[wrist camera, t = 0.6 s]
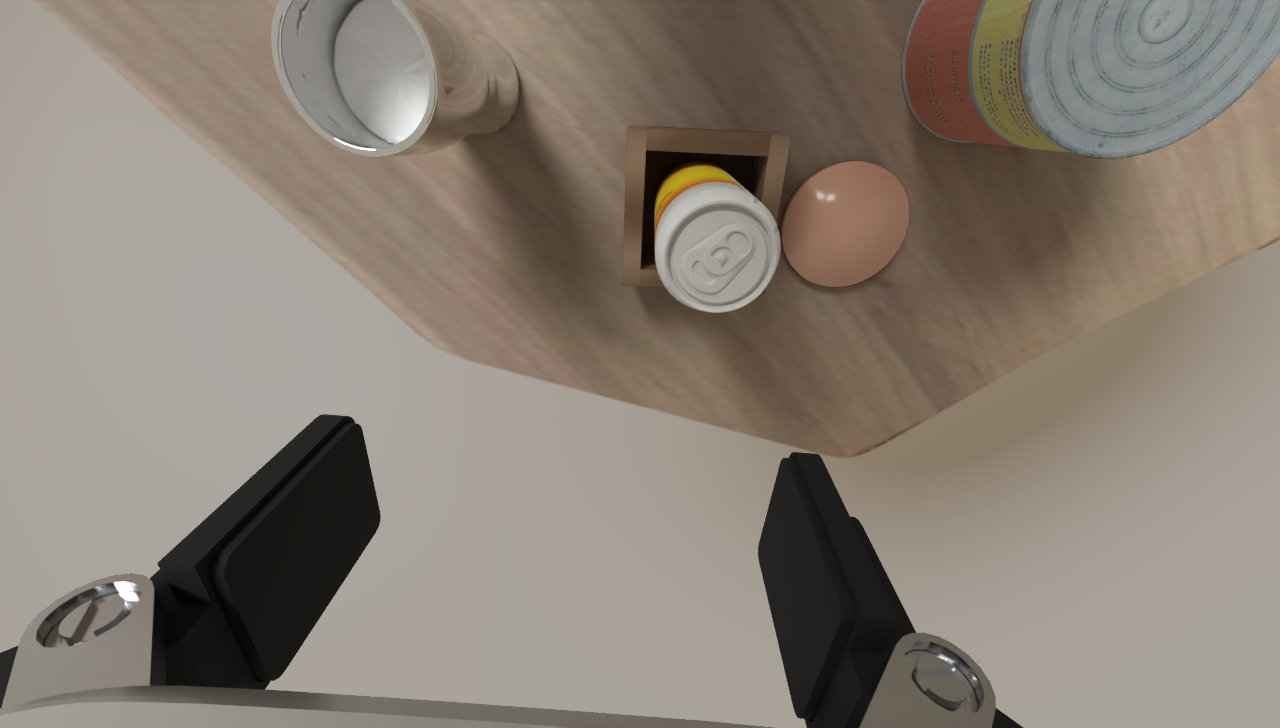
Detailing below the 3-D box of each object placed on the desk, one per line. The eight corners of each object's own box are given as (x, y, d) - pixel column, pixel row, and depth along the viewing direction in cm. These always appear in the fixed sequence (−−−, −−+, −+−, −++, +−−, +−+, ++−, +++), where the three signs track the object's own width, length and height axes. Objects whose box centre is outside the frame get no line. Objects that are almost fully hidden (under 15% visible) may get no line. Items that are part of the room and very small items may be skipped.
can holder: (630, 125, 34) (627, 127, 30) (775, 132, 34) (791, 136, 30) (625, 267, 39) (622, 285, 35) (753, 273, 39) (764, 292, 35)
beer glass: (546, 109, 34) (477, 110, 20) (464, 159, 35) (350, 191, 22) (486, -2, 31) (360, -85, 18) (400, 58, 32) (225, 25, 19)
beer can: (637, 202, 36) (628, 258, 23) (699, 140, 34) (729, 160, 21) (691, 261, 38) (712, 343, 25) (754, 205, 36) (812, 262, 23)
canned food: (1063, 130, 34) (1253, 142, 23) (892, 152, 34) (999, 173, 24) (1115, -84, 28) (1391, -198, 18) (912, -52, 29) (1061, -142, 19)
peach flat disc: (792, 157, 35) (795, 158, 34) (920, 163, 35) (926, 165, 34) (771, 280, 39) (773, 284, 38) (885, 286, 39) (889, 289, 38)
